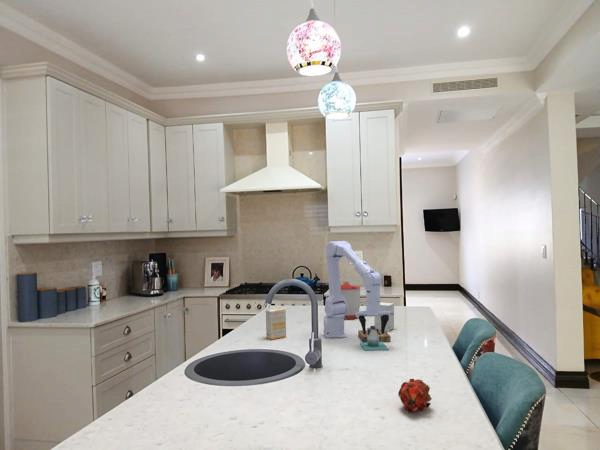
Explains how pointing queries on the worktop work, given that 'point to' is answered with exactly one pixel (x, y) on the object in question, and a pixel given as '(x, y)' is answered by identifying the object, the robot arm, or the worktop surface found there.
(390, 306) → the white boxy piece
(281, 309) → the supplement box
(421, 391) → the dragon fruit
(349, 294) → the citrus juicer
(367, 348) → the teal mat
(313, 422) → the worktop surface
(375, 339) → the metal plug
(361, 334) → the bore block
